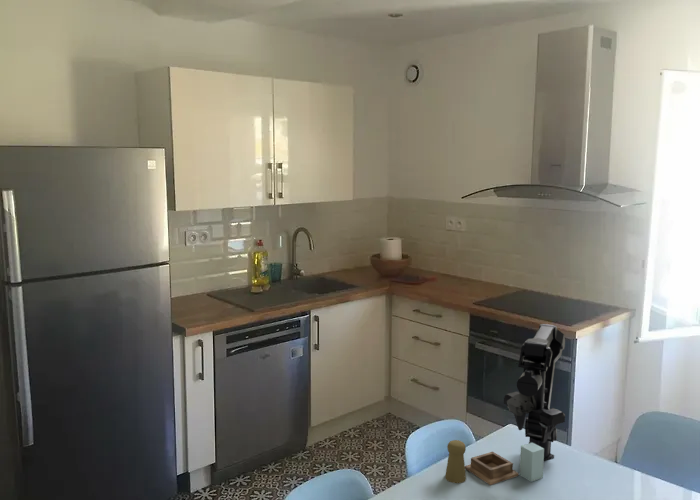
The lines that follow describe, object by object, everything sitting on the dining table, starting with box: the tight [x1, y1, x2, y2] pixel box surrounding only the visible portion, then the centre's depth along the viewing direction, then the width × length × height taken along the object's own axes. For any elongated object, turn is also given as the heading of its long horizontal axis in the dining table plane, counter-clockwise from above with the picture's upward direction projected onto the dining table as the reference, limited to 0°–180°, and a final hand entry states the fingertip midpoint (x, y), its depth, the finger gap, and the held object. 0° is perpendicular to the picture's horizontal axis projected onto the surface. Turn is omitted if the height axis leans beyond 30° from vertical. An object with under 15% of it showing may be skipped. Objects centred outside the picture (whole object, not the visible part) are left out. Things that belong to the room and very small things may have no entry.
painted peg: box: [519, 442, 545, 483], centre depth 177 cm, size 5×5×9 cm
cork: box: [444, 439, 467, 484], centre depth 176 cm, size 6×6×11 cm
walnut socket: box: [465, 451, 520, 486], centre depth 180 cm, size 11×11×4 cm
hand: (531, 435), depth 176 cm, fingers open, 9 cm apart
